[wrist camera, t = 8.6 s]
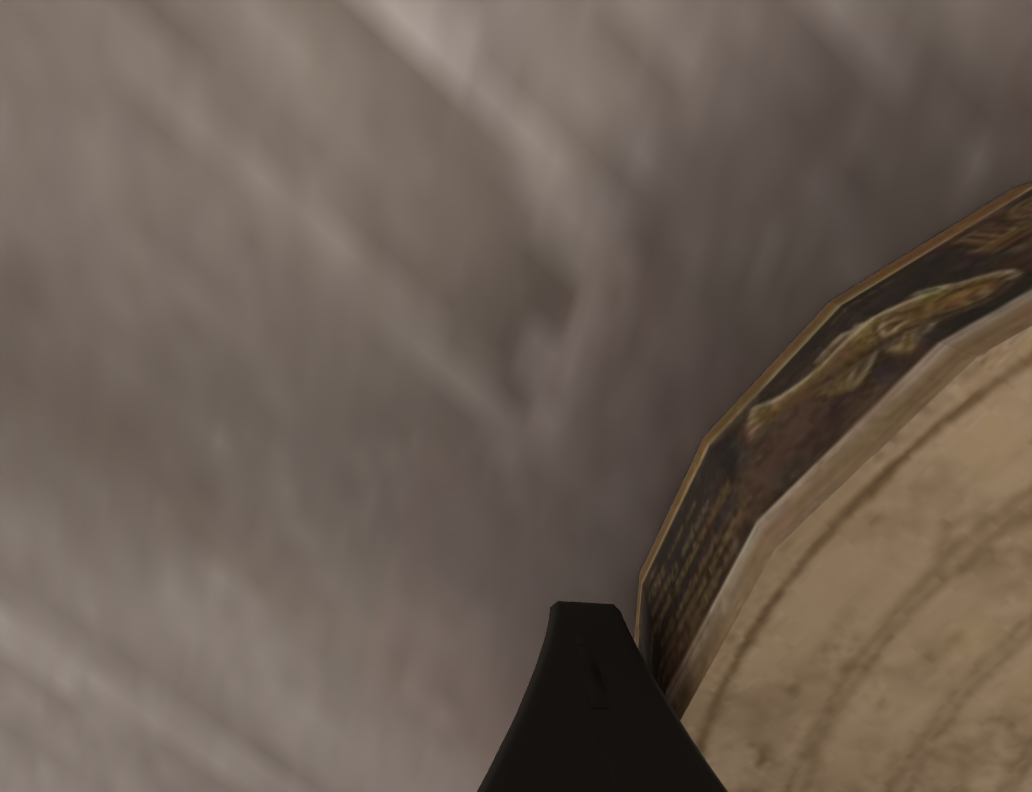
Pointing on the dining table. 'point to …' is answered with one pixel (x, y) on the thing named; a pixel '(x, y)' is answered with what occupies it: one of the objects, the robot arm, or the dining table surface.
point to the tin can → (866, 539)
